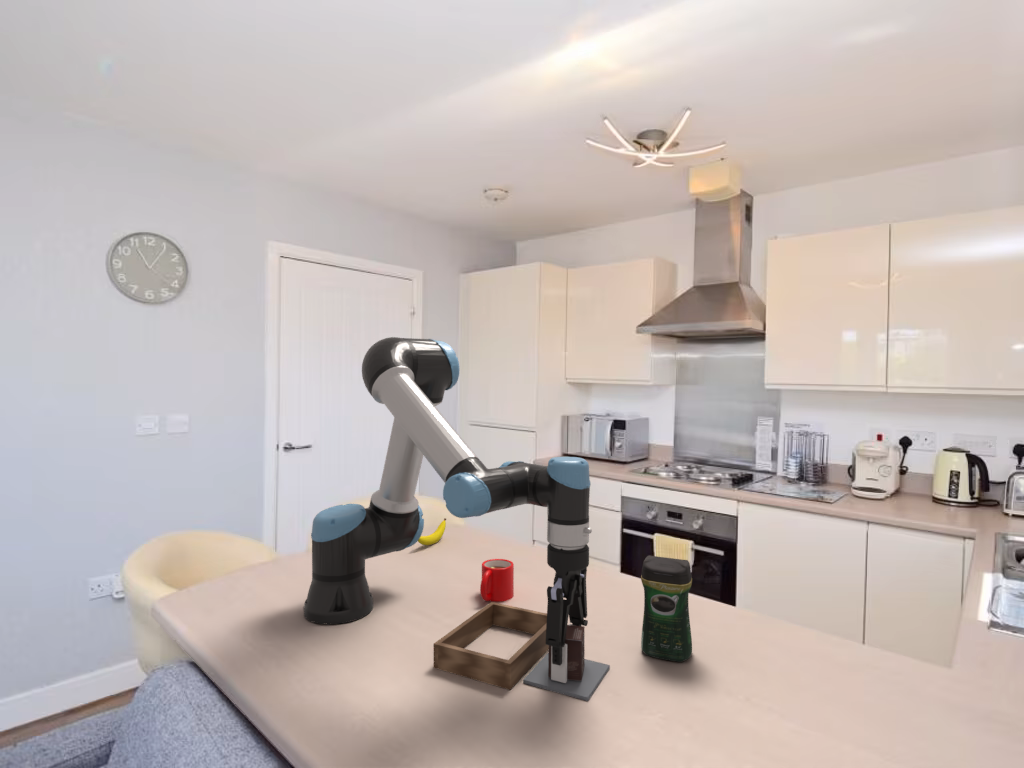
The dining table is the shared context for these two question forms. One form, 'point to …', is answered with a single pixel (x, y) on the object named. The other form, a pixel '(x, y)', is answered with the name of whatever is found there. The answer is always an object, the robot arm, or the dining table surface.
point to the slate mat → (571, 688)
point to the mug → (497, 580)
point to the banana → (433, 535)
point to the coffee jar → (666, 608)
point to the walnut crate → (485, 666)
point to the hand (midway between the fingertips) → (567, 669)
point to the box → (573, 653)
